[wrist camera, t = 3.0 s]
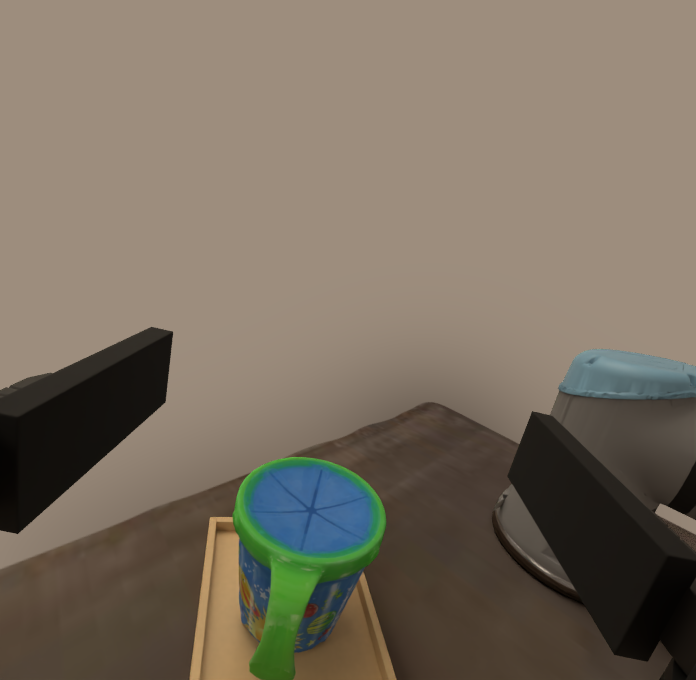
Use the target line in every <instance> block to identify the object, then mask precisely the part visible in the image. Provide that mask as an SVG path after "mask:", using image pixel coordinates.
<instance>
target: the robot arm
mask: <svg viewBox="0 0 696 680" xmlns="http://www.w3.org/2000/svg"><path fill="white" fill-rule="evenodd" d="M172 337H173V332H172V331H167V330H163V329H158V328H154V327H151V328H148V329H146V330H144V331H142V332H140V333H138V334H136V335H133V336H131V337H129V338H127V339H125V340H123V341H121V342H118V343H117V344H114V345H112V346H110V347H108V348H106V349H104V350H102V351H99V352H97V353H95V354H93V355H91V356H89V357H87V358H84V359H82V360H80V361H78V362H76V363H74V364H72V365H70V366H68V367H65V368H64V369H61V370H59V371H57V372H55V373H47V374H43V375H38V376H34V377H30V378H26V379H24V380H22V381H20V382H17V383H15V384H13V385H11V386H10V387H9V388H4V389H2V390H0V530H1V531H6V532H11V533H16V534H18V533H19V532H20V531H21V530H23V529H24V528H25V527H26V526H27V525H28V524H29V523H30V522H32V521H33V520H34V519H35V518H36V517H37V516H38V515H40V514H41V513H42V512H43V511H44V510H45V509H46V508H47V507H49V506H50V505H51V504H52V503H53V502H54V501H55V500H56V499H58V498H59V497H60V496H61V495H62V494H63V493H64V492H65V491H66V490H68V489H69V488H70V487H71V486H72V485H73V484H74V483H75V482H77V481H78V480H79V479H80V478H81V477H82V476H83V475H84V474H86V473H87V472H88V471H89V470H90V469H91V468H92V467H93V466H94V465H96V464H97V463H98V462H99V461H100V460H101V459H102V458H103V457H105V456H106V455H107V454H108V453H109V452H110V451H111V450H112V449H114V448H115V447H116V446H117V445H118V444H119V443H120V442H121V441H122V440H124V439H125V438H126V437H127V436H128V435H129V434H130V433H131V432H133V431H134V430H135V429H136V428H137V427H138V426H139V425H140V424H142V423H143V422H144V421H145V420H146V419H147V418H148V417H149V416H151V415H152V414H153V413H154V412H155V411H156V410H157V409H158V408H159V407H161V406H162V405H163V404H164V403H165V401H166V392H167V383H168V374H169V365H170V355H171V345H172ZM508 478H509V480H510V481H511V483H512V484H511V485H510V487H509V488H508V489H506V490H505V491H504V492H503V493H502V495H501V496H500V498H499V499H498V501H497V503H496V505H495V508H494V510H493V515H492V522H493V527H494V529H495V532H496V534H497V536H498V538H499V540H500V541H501V543H502V544H503V546H504V547H505V548H506V550H507V551H508V552H509V553H510V554H511V555H512V557H513V558H514V559H515V560H516V561H517V562H518V563H519V564H521V565H522V566H523V567H524V568H525V569H526V570H527V571H529V572H530V573H531V574H532V575H534V576H535V577H536V578H538V579H539V580H540V581H542V582H543V583H545V584H546V585H548V586H550V587H551V588H553V589H555V590H556V591H558V592H560V593H562V594H564V595H566V596H568V597H570V598H572V599H575V600H577V601H579V602H582V603H584V605H585V607H586V608H587V610H588V612H589V613H590V615H591V617H592V618H593V620H594V622H595V623H596V625H597V627H598V628H599V630H600V632H601V633H602V635H603V637H604V638H605V640H606V642H607V643H608V645H609V647H610V648H611V650H612V652H613V653H614V655H618V656H623V657H627V658H632V659H637V660H642V661H647V662H648V660H649V658H650V656H651V655H652V653H653V651H654V649H655V648H656V646H657V644H658V642H659V641H661V642H662V643H663V645H664V646H665V647H666V649H667V650H668V652H669V653H670V654H671V656H672V657H673V658H672V659H671V661H670V663H669V664H668V666H667V668H666V670H665V671H664V673H663V675H662V676H661V678H660V680H696V552H695V551H694V550H693V549H692V548H691V547H690V546H689V545H688V544H687V543H685V542H684V541H683V540H680V537H679V536H678V535H677V534H676V533H675V532H674V531H673V530H672V529H671V528H668V525H667V524H666V523H665V522H664V521H663V520H662V519H661V518H659V517H658V516H657V515H656V514H655V511H656V509H657V507H658V506H659V504H660V503H661V504H664V505H666V506H668V507H670V508H672V509H674V510H676V511H678V512H681V513H682V514H685V515H687V516H689V517H691V518H693V519H695V520H696V366H693V365H688V364H686V363H683V362H678V361H674V360H670V359H666V358H661V357H655V356H650V355H645V354H639V353H633V352H626V351H618V350H607V349H592V350H587V351H584V352H582V353H580V354H579V355H577V356H576V357H575V359H574V360H573V362H572V364H571V366H570V368H569V370H568V372H567V374H566V376H565V379H564V380H563V382H562V383H561V384H560V385H559V393H558V396H557V398H556V401H555V403H554V406H553V408H552V411H551V414H550V415H546V414H542V413H537V412H533V411H532V413H531V416H530V419H529V421H528V424H527V426H526V429H525V432H524V434H523V437H522V439H521V442H520V445H519V447H518V450H517V452H516V455H515V458H514V460H513V463H512V466H511V468H510V471H509V473H508Z"/></svg>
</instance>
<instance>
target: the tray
mask: <svg viewBox="0 0 696 680" xmlns="http://www.w3.org/2000/svg"><path fill="white" fill-rule="evenodd" d="M238 551H239V536H238V534H237V533H236V531H235V527H234V525H233V517H210V522H209V529H208V536H207V544H206V552H205V560H204V568H203V576H202V584H201V591H200V599H199V607H198V615H197V623H196V631H195V639H194V646H193V654H192V662H191V670H190V678H189V680H261V679H259V678H257V677H255V676H254V675H253V674H252V673H250V672H249V669H250V667H249V662H250V660H251V658H252V656H253V655H254V653H255V651H256V649H257V647H258V645H259V642H258V641H257V640H256V639H255V638H254V637H253V636H252V635H251V634H250V632H249V631H248V629H247V627H246V626H245V625H244V624H243V623H242V621H241V611H240V605H239V553H238ZM294 662H295V671H296V674H295V677H294V679H293V680H397V679H396V676H395V673H394V670H393V666H392V663H391V660H390V657H389V653H388V650H387V647H386V643H385V640H384V637H383V634H382V630H381V627H380V624H379V621H378V617H377V614H376V611H375V608H374V604H373V601H372V598H371V595H370V591H369V588H368V585H367V581H366V578H365V575H364V572H362V575H361V576H360V578H359V580H358V582H357V584H356V586H355V589H354V590H353V592H352V594H351V596H350V598H349V599H348V602H347V604H346V606H345V608H344V610H343V612H342V614H341V616H340V618H339V619H338V621H337V623H336V625H335V627H334V628H333V630H332V632H331V634H330V635H329V636H328V638H327V639H326V640H325V641H324V642H320V643H319V644H318V645H316V646H315V647H313V648H312V649H309V650H307V651H303V652H299V653H294Z"/></svg>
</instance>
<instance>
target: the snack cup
mask: <svg viewBox="0 0 696 680" xmlns="http://www.w3.org/2000/svg"><path fill="white" fill-rule="evenodd" d="M233 525H234V527H235V531H236V533H237V534H238V536H239V551H238V553H239V605H240V611H241V621H242V623H243V624H244V625H245V626H246V627H247V629H248V631H249V632H250V634H251V635H252V636H253V637H254V638H255V639H256V640H257V641H258V642H259V645H258V647H257V649H256V651H255V653H254V655H253V656H252V658H251V660H250V662H249V667H250V669H249V672H250V673H252V674H253V675H254V676H255V677H257V678H259V679H261V680H293V679H294V677H295V674H296V671H295V662H294V653H299V652H303V651H307V650H309V649H312V648H313V647H315V646H316V645H318V644H319V643H320V642H324V641H325V640H326V639H327V638H328V636H329V635H330V634H331V632H332V630H333V628H334V627H335V625H336V623H337V621H338V619H339V618H340V616H341V614H342V612H343V610H344V608H345V606H346V604H347V602H348V599H349V598H350V596H351V594H352V592H353V590H354V589H355V586H356V584H357V582H358V580H359V578H360V576H361V575H362V572H363V570H364V568H365V567H366V566H368V565H369V564H370V563H371V562H372V561H373V560H374V559H375V558H376V557H377V555H378V553H379V548H380V545H381V542H382V540H383V536H384V532H385V528H386V515H385V510H384V507H383V504H382V502H381V500H380V498H379V497H378V495H377V494H376V492H375V491H374V490H373V489H372V487H371V486H370V485H369V484H368V483H367V482H365V481H364V480H363V479H362V478H361V477H359V476H358V475H357V474H355V473H353V472H352V471H350V470H348V469H346V468H344V467H342V466H339V465H337V464H334V463H331V462H328V461H324V460H319V459H314V458H305V457H291V458H284V459H279V460H275V461H272V462H269V463H266V464H264V465H262V466H260V467H259V468H257V469H255V470H254V471H252V472H251V473H250V474H249V475H248V476H247V477H246V478H245V480H244V481H243V482H242V484H241V486H240V488H239V491H238V495H237V498H236V503H235V511H234V512H233Z"/></svg>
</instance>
